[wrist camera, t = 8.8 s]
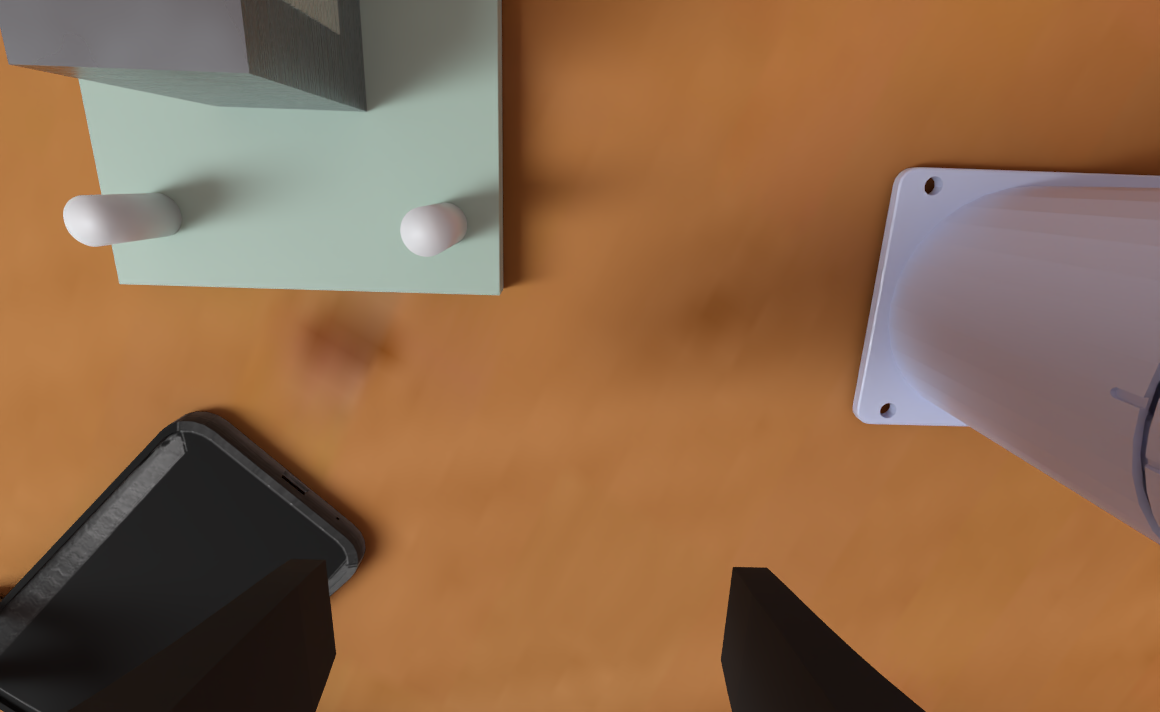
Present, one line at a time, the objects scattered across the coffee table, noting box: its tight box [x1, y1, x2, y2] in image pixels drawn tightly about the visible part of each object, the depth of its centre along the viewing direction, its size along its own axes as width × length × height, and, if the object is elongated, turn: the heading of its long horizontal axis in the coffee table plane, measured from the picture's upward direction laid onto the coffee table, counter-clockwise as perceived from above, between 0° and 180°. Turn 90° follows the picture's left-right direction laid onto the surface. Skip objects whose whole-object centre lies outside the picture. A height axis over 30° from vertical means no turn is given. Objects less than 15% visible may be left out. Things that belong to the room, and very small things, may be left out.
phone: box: [0, 412, 365, 712], centre depth 21 cm, size 8×1×15 cm
